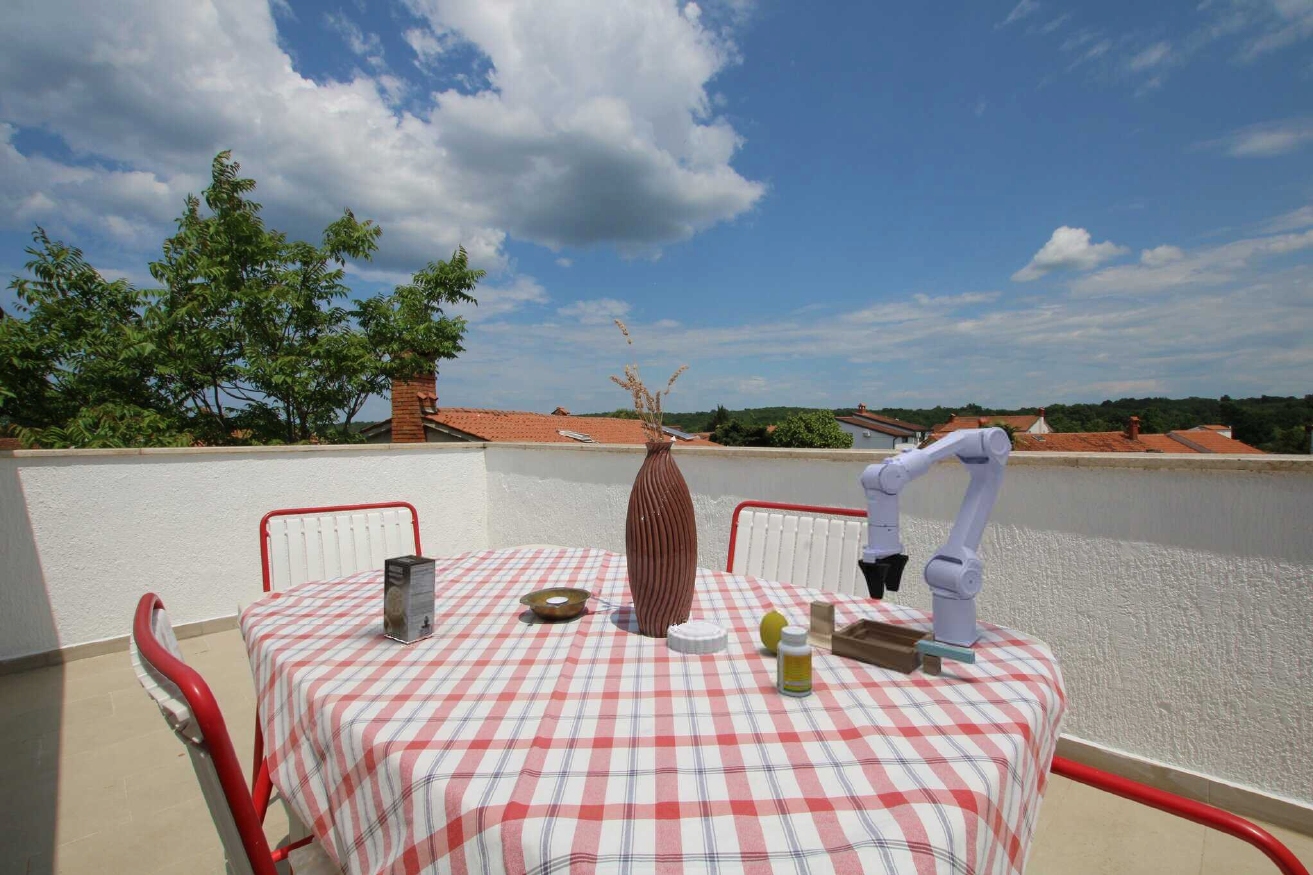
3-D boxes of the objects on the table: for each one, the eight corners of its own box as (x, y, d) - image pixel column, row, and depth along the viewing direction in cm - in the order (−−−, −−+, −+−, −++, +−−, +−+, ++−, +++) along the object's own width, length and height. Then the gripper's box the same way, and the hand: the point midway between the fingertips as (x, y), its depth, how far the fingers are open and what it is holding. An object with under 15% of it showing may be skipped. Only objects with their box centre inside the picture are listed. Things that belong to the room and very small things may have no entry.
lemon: (790, 659, 100) (789, 615, 100) (759, 657, 101) (759, 613, 101) (789, 649, 105) (788, 607, 106) (760, 647, 106) (759, 605, 107)
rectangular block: (921, 648, 96) (921, 639, 96) (975, 661, 91) (975, 651, 91) (917, 651, 95) (917, 642, 95) (971, 664, 89) (971, 654, 89)
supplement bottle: (770, 687, 88) (769, 627, 88) (796, 680, 90) (795, 622, 91) (792, 700, 83) (791, 637, 84) (819, 693, 86) (818, 632, 86)
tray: (862, 635, 113) (862, 618, 113) (955, 657, 101) (955, 637, 101) (831, 653, 103) (831, 634, 103) (930, 680, 91) (930, 658, 91)
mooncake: (740, 647, 107) (740, 629, 107) (692, 660, 100) (692, 641, 100) (701, 631, 117) (701, 614, 117) (655, 642, 110) (655, 624, 110)
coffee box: (381, 637, 113) (382, 559, 113) (409, 628, 118) (410, 554, 119) (407, 645, 108) (408, 563, 108) (436, 636, 113) (437, 558, 114)
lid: (808, 627, 120) (808, 596, 120) (859, 639, 112) (858, 606, 112) (780, 639, 112) (780, 607, 112) (833, 653, 104) (832, 618, 104)
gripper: (878, 519, 115) (879, 584, 115) (846, 526, 105) (848, 597, 104) (912, 522, 110) (914, 590, 110) (883, 530, 100) (885, 604, 100)
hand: (884, 594), depth 107 cm, fingers open, 7 cm apart
